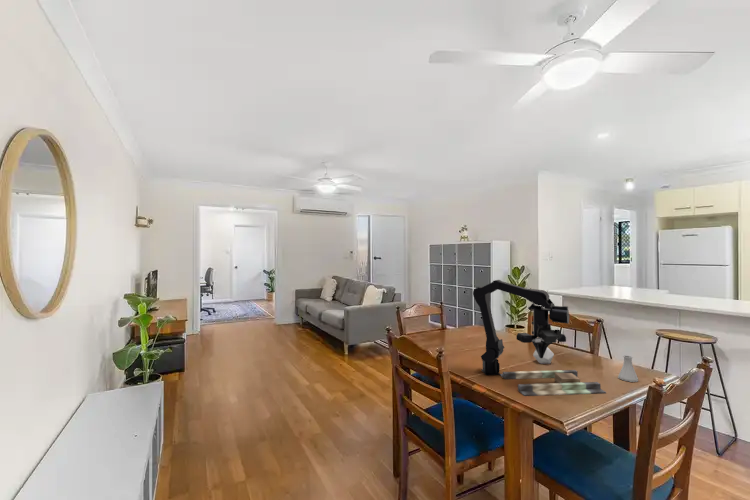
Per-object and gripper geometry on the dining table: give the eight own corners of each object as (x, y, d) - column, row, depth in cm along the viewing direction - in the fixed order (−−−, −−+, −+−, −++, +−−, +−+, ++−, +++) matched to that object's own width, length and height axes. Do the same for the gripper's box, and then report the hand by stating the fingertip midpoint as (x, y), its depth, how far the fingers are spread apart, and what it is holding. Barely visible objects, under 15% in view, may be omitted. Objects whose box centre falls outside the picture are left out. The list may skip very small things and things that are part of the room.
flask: (632, 383, 143) (632, 359, 143) (614, 378, 149) (614, 355, 149) (642, 380, 146) (642, 357, 146) (623, 375, 152) (623, 352, 152)
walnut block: (562, 388, 139) (561, 378, 139) (554, 382, 146) (554, 372, 146) (580, 389, 138) (580, 379, 138) (572, 382, 145) (572, 373, 145)
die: (552, 368, 164) (559, 350, 167) (535, 358, 165) (542, 340, 168) (544, 368, 172) (551, 351, 175) (528, 359, 173) (535, 342, 176)
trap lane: (524, 395, 131) (524, 389, 131) (499, 375, 153) (499, 369, 153) (606, 393, 133) (606, 386, 133) (570, 373, 155) (570, 367, 155)
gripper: (529, 325, 134) (529, 364, 134) (574, 324, 136) (574, 363, 136) (515, 319, 146) (516, 356, 146) (557, 318, 147) (558, 355, 147)
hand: (541, 357), depth 143 cm, fingers closed
